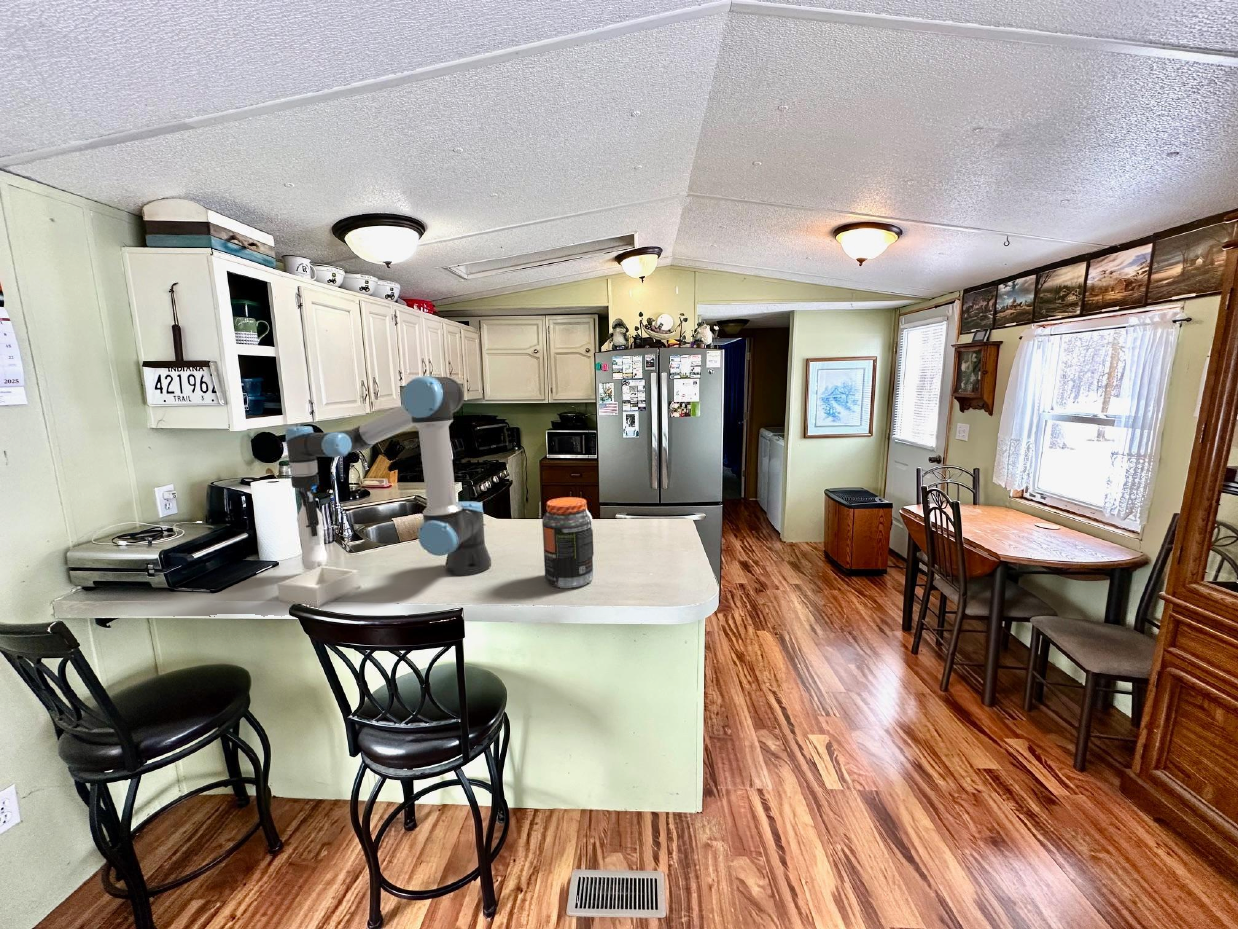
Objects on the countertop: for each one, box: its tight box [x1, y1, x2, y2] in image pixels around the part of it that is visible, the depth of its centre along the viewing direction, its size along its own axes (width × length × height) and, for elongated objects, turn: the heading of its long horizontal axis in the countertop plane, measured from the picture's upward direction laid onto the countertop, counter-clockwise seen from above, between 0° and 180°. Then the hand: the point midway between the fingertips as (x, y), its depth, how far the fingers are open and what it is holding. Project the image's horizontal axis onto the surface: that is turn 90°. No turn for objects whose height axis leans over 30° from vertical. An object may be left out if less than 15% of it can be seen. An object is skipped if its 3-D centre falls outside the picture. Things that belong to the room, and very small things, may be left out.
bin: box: [277, 565, 361, 609], centre depth 151 cm, size 15×15×6 cm
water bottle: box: [296, 501, 328, 571], centre depth 165 cm, size 7×7×25 cm
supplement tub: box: [541, 496, 595, 589], centre depth 158 cm, size 16×16×26 cm
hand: (312, 542), depth 165 cm, fingers closed on water bottle, 7 cm apart
